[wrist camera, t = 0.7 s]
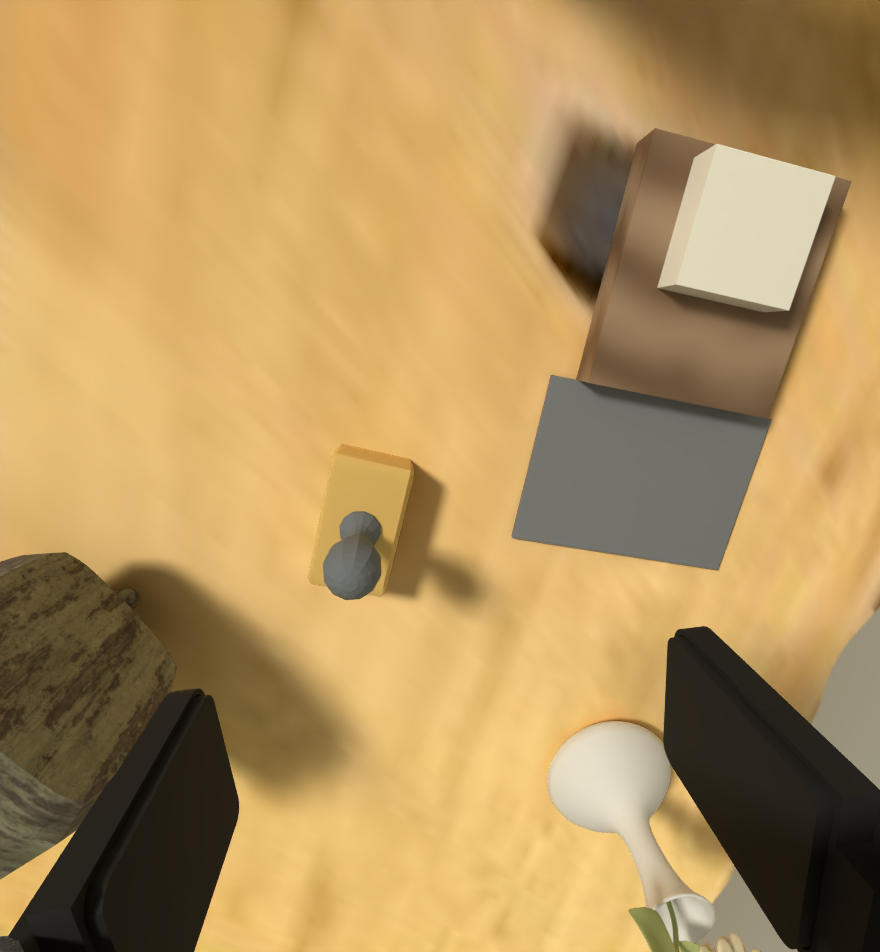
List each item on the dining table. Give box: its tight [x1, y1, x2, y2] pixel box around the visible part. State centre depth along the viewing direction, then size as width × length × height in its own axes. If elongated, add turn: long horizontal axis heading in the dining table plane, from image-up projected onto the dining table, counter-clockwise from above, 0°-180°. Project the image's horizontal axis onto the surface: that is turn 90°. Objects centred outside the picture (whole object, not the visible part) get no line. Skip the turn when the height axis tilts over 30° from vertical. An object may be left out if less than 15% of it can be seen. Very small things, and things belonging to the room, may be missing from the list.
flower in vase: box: [547, 721, 761, 952], centre depth 35 cm, size 13×11×25 cm
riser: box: [576, 128, 851, 418], centre depth 36 cm, size 16×14×2 cm
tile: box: [657, 144, 836, 312], centre depth 33 cm, size 8×8×2 cm
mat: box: [512, 375, 771, 570], centre depth 40 cm, size 13×18×1 cm
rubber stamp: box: [308, 444, 414, 600], centre depth 34 cm, size 10×6×12 cm, turn 166°
